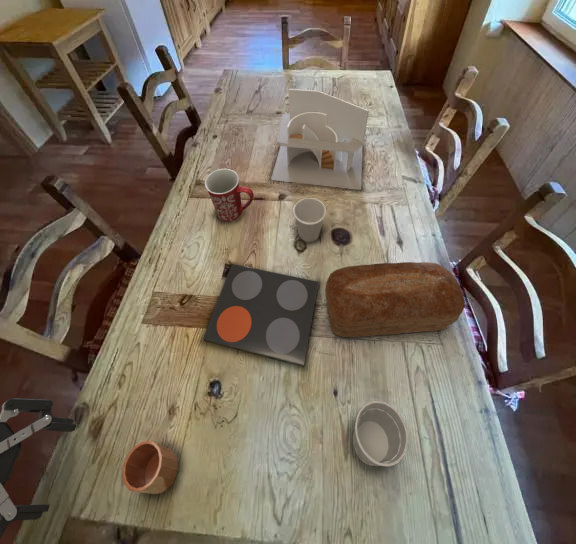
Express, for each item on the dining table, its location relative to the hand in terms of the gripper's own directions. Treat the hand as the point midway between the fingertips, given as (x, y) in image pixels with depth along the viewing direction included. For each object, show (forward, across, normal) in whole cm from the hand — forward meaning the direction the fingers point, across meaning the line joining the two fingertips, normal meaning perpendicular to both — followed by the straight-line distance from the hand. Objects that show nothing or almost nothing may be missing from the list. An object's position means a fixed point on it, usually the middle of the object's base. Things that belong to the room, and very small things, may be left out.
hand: (61, 465), depth 49 cm
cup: (+44, +2, -23) cm, 49 cm away
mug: (+24, +55, -3) cm, 60 cm away
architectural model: (+42, +74, -21) cm, 88 cm away
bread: (+49, +25, -29) cm, 62 cm away
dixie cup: (+38, +47, -17) cm, 63 cm away
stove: (+30, +26, -9) cm, 41 cm away
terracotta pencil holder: (+17, 0, +3) cm, 18 cm away
